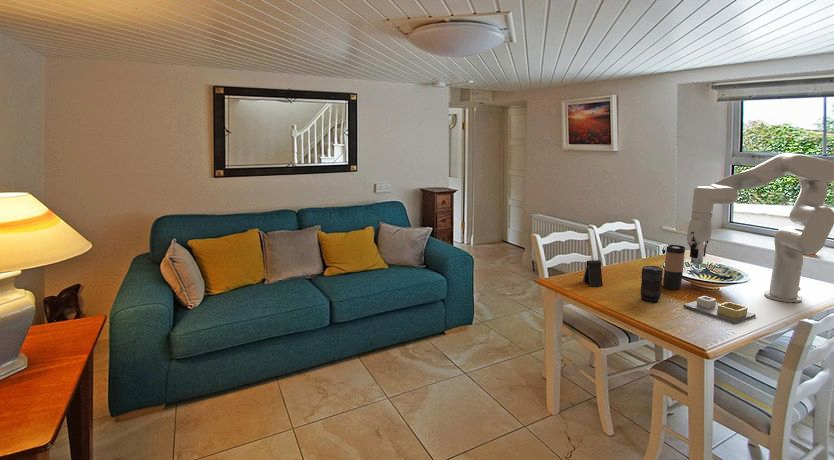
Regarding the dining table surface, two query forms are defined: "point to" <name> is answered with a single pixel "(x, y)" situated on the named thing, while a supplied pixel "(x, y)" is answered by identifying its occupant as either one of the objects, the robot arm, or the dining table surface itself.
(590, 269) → the door stopper
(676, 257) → the travel mug
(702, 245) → the light grey rectangular block
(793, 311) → the dining table surface
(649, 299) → the camera lens
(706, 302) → the fitting board
